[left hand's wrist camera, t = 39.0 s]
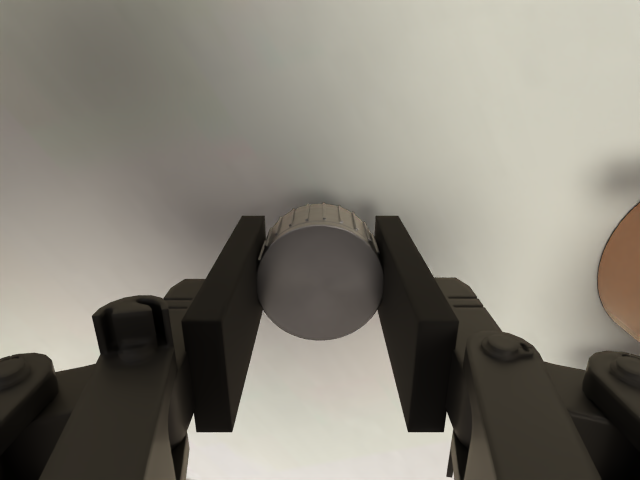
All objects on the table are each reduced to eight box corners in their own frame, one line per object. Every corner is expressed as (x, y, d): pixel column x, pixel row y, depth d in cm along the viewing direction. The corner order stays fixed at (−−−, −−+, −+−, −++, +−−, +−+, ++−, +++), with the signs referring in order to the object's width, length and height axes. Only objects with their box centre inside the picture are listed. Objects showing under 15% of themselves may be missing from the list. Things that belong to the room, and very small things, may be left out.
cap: (336, 178, 13) (339, 196, 11) (398, 270, 14) (410, 302, 12) (239, 242, 14) (226, 269, 12) (305, 324, 15) (303, 362, 13)
